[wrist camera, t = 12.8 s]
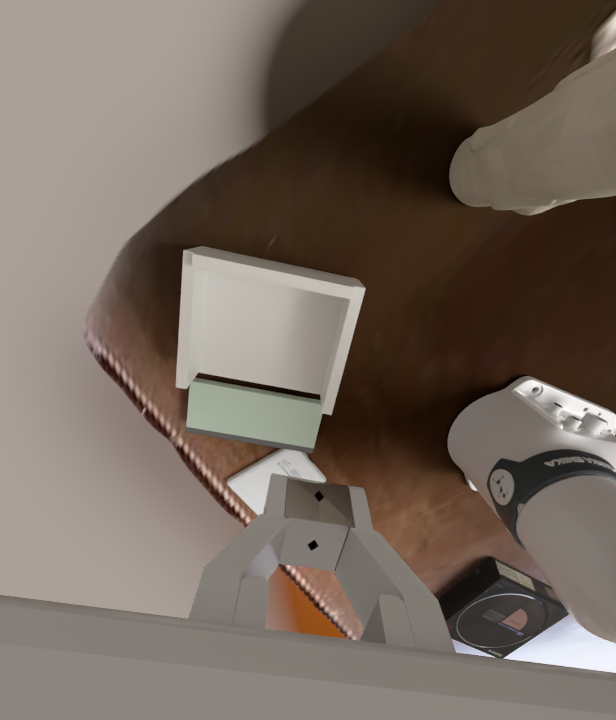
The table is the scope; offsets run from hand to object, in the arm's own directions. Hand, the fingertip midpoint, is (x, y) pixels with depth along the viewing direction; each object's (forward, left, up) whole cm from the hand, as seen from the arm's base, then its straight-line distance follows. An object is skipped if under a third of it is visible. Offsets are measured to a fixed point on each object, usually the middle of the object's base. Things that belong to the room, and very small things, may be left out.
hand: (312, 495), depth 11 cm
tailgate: (+4, +13, -30) cm, 32 cm away
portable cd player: (-44, +48, -32) cm, 72 cm away
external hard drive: (-1, +28, -32) cm, 42 cm away
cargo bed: (+4, +4, -31) cm, 32 cm away
